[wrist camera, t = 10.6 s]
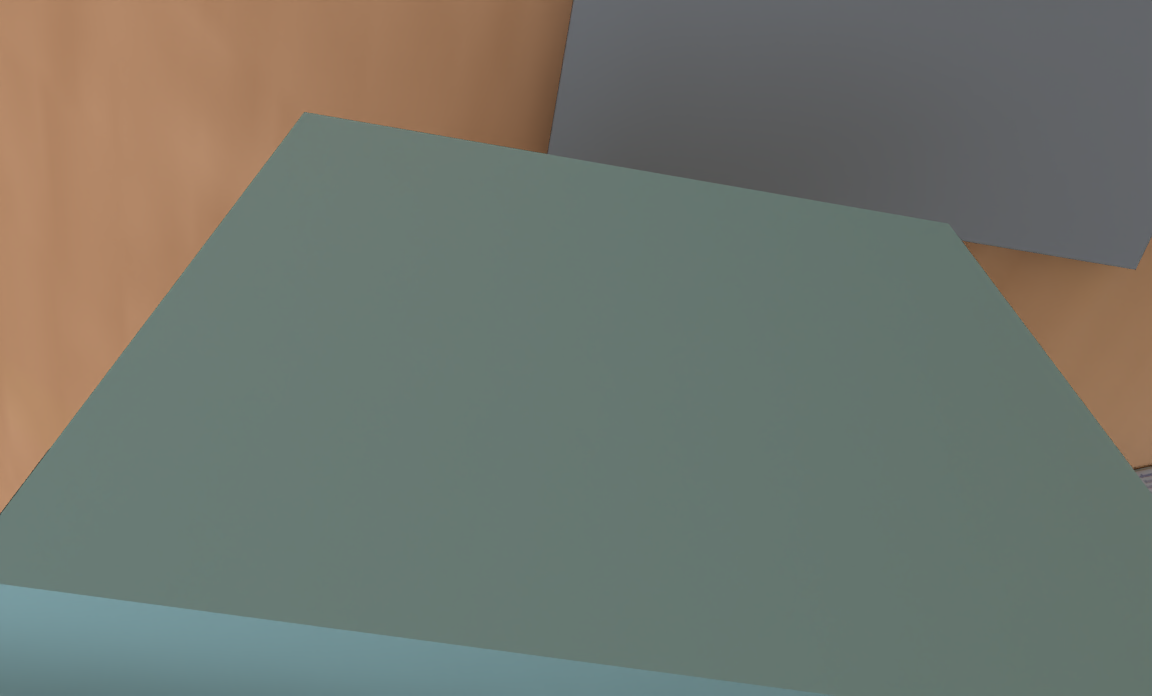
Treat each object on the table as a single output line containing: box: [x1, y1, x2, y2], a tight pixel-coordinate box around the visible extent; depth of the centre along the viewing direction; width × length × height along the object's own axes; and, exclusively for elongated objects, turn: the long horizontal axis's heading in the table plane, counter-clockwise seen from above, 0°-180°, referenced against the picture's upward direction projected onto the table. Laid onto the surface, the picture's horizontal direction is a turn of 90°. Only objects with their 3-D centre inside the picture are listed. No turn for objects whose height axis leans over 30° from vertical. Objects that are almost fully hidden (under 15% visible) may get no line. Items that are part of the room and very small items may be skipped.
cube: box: [0, 112, 1152, 696], centre depth 8 cm, size 6×6×6 cm
